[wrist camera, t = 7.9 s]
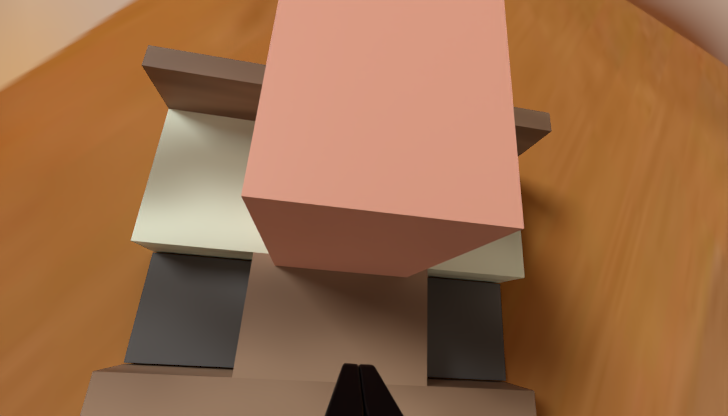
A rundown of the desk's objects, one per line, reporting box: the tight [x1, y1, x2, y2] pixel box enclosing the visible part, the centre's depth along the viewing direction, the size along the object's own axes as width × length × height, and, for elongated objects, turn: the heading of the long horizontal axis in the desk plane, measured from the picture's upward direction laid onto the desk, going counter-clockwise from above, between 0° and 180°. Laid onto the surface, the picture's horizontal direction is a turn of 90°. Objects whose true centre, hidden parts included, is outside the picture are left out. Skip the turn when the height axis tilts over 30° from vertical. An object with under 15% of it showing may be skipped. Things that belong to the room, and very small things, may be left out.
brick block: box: [241, 0, 524, 277], centre depth 12 cm, size 7×6×9 cm
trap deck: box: [80, 45, 551, 416], centre depth 14 cm, size 23×18×6 cm
